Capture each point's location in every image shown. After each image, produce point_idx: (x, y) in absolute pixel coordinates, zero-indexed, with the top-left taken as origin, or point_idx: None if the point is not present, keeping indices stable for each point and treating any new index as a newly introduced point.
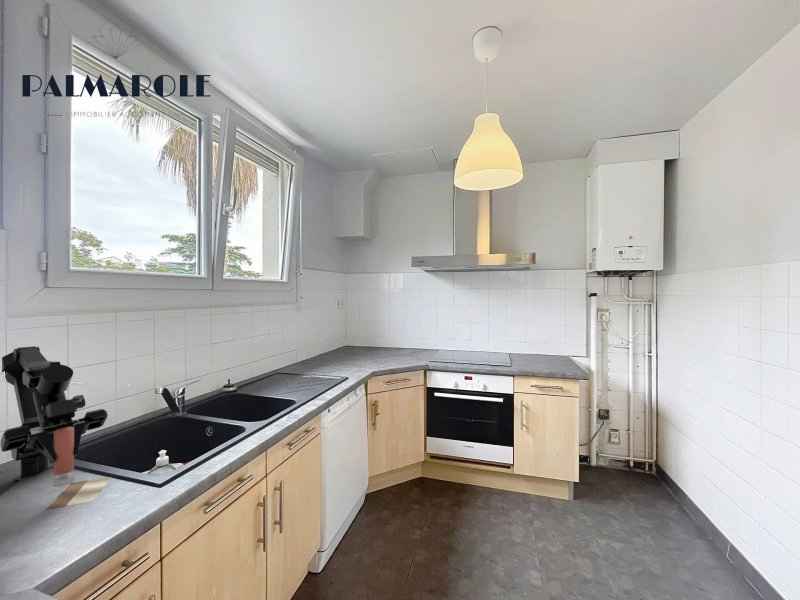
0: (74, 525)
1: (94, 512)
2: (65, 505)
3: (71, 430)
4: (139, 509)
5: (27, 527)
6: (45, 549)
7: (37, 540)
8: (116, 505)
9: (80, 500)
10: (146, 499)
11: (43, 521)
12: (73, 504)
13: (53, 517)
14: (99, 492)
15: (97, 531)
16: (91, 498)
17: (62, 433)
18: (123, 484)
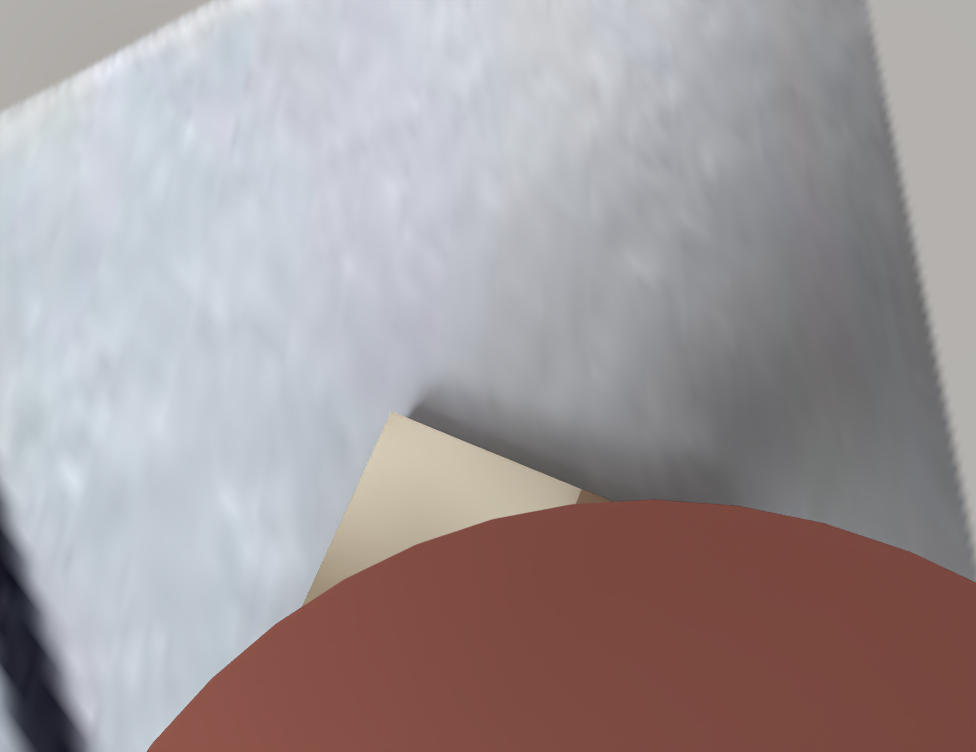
0: (533, 214)
1: (405, 315)
2: (582, 493)
3: (229, 688)
4: (166, 136)
5: (823, 432)
6: (685, 32)
7: (737, 176)
8: (266, 312)
9: (473, 510)
10: (90, 249)
11: (724, 447)
12: (526, 471)
13: (661, 462)
14: (326, 556)
15: (420, 36)
16: (395, 480)
17: (738, 529)
18: (137, 699)
